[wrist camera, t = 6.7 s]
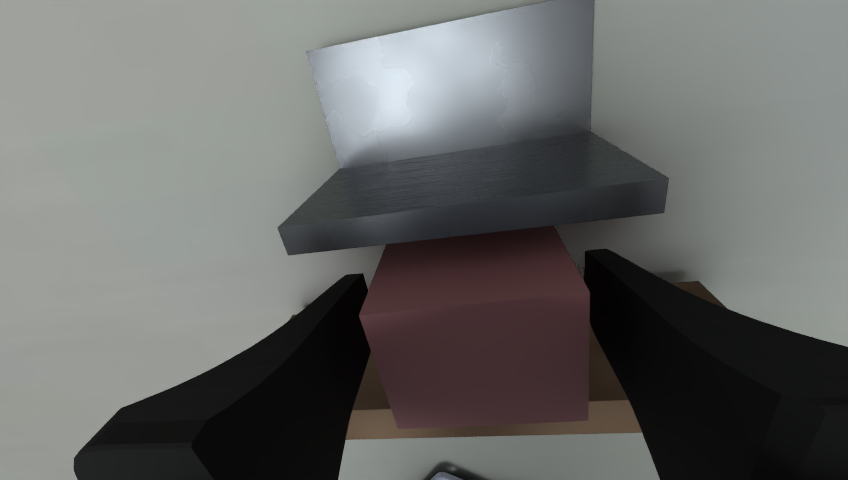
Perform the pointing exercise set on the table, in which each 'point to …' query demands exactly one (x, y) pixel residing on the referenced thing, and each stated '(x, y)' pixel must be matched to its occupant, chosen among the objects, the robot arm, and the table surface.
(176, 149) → the table surface
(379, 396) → the shelf wall
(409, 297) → the mauve rectangular block
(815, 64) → the table surface
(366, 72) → the bookend
